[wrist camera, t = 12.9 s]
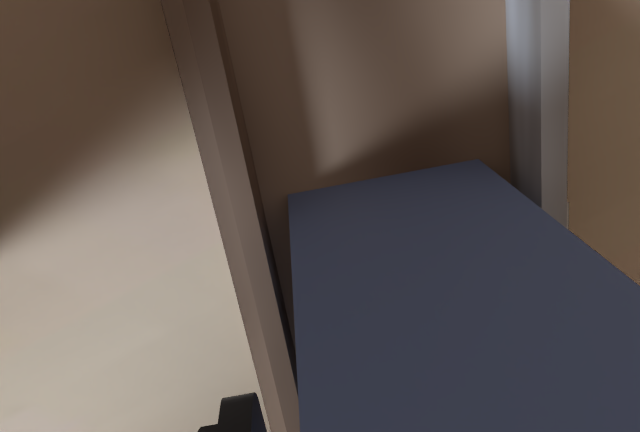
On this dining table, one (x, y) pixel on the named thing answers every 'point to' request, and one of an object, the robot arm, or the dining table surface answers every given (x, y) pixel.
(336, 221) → the blue carton
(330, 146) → the shelf channel
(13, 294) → the dining table surface
